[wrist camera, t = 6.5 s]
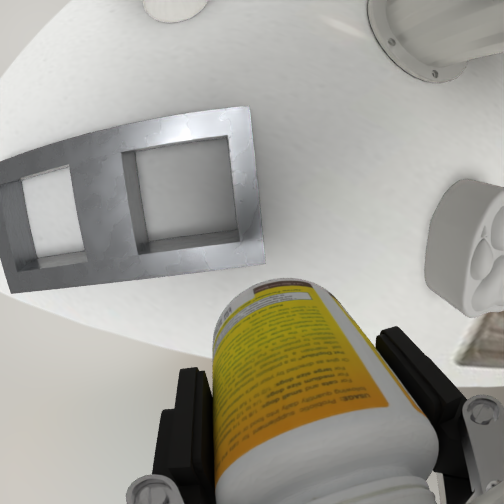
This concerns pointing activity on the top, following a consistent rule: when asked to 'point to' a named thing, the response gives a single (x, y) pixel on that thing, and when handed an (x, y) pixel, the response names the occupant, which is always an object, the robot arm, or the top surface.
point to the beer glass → (173, 9)
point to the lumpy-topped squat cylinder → (468, 248)
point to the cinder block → (128, 206)
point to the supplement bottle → (311, 406)
